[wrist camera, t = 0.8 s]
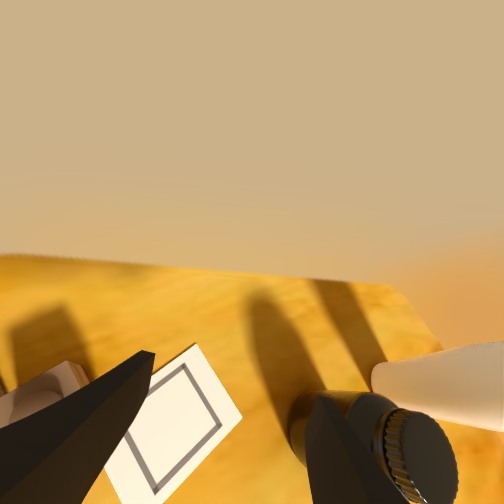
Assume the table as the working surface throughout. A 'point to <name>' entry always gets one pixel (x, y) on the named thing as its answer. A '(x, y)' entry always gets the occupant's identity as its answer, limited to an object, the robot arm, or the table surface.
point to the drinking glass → (449, 384)
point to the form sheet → (172, 430)
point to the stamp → (42, 392)
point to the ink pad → (1, 391)
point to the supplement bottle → (390, 442)
